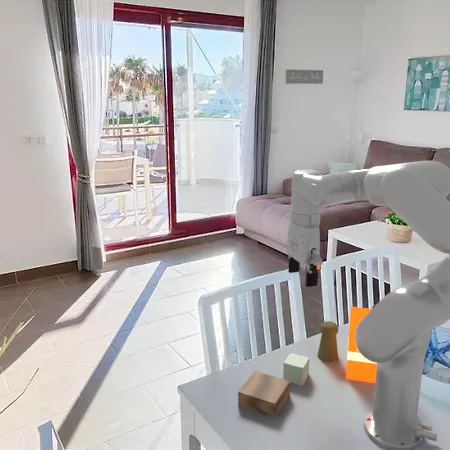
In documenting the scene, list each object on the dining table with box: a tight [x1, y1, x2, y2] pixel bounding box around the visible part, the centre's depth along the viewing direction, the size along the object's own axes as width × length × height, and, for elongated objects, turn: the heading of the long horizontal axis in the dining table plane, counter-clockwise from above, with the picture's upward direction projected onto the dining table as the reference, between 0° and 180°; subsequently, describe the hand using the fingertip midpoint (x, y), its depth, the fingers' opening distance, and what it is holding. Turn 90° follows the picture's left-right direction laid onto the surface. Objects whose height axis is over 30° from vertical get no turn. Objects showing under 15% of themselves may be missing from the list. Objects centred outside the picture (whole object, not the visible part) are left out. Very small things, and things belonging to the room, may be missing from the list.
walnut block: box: [237, 370, 291, 419], centre depth 118 cm, size 10×10×4 cm
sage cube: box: [282, 352, 310, 386], centre depth 127 cm, size 6×6×6 cm
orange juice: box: [345, 306, 377, 384], centre depth 126 cm, size 8×9×20 cm
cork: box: [317, 320, 339, 363], centre depth 136 cm, size 6×6×11 cm
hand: (302, 278), depth 124 cm, fingers open, 9 cm apart
